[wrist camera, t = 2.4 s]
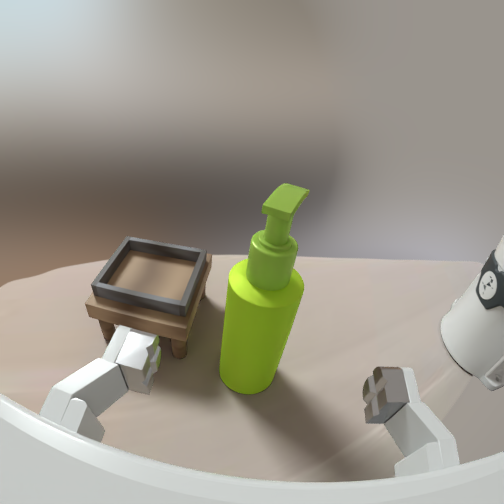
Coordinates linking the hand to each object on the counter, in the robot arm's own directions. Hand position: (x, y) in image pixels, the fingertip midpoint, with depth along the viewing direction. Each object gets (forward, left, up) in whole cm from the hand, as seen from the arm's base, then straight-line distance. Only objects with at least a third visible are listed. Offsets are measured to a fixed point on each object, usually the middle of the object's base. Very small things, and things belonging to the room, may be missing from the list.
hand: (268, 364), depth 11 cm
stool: (+12, -17, -19) cm, 28 cm away
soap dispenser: (0, -12, -19) cm, 23 cm away
